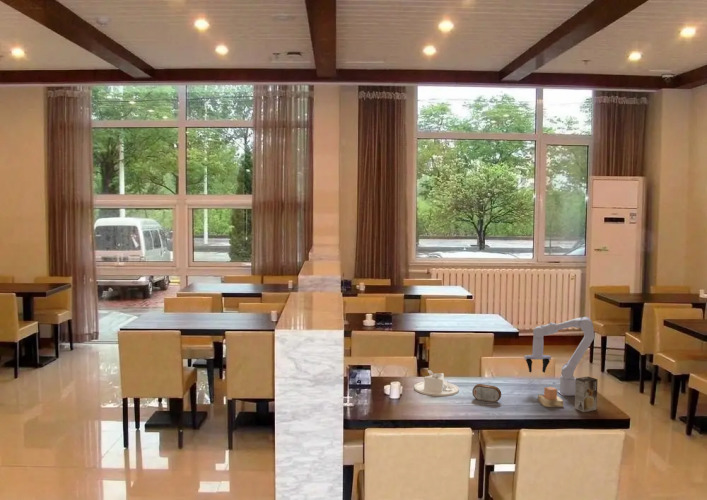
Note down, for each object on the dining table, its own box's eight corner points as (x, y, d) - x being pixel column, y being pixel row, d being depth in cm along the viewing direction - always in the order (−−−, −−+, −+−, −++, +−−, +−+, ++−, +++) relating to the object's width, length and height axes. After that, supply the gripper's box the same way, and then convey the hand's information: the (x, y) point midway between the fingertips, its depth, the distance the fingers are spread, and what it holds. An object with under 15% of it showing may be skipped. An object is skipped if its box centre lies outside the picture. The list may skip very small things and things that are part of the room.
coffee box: (586, 406, 336) (588, 376, 334) (596, 410, 330) (598, 379, 328) (574, 408, 331) (575, 378, 330) (583, 412, 326) (585, 381, 324)
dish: (448, 399, 343) (449, 378, 342) (406, 391, 356) (407, 371, 355) (465, 388, 364) (466, 368, 363) (425, 380, 377) (426, 361, 376)
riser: (556, 400, 344) (556, 395, 344) (563, 406, 334) (563, 401, 334) (537, 400, 344) (538, 394, 343) (544, 406, 334) (544, 400, 333)
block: (551, 396, 342) (551, 386, 341) (556, 398, 338) (557, 389, 337) (544, 396, 340) (544, 387, 340) (549, 399, 336) (549, 390, 336)
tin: (501, 402, 340) (501, 386, 339) (499, 404, 337) (500, 388, 336) (472, 398, 346) (473, 382, 345) (471, 399, 343) (472, 384, 342)
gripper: (548, 346, 364) (547, 370, 365) (522, 346, 363) (521, 370, 365) (552, 349, 357) (551, 373, 358) (526, 349, 356) (525, 373, 357)
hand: (536, 372), depth 361 cm, fingers open, 7 cm apart
